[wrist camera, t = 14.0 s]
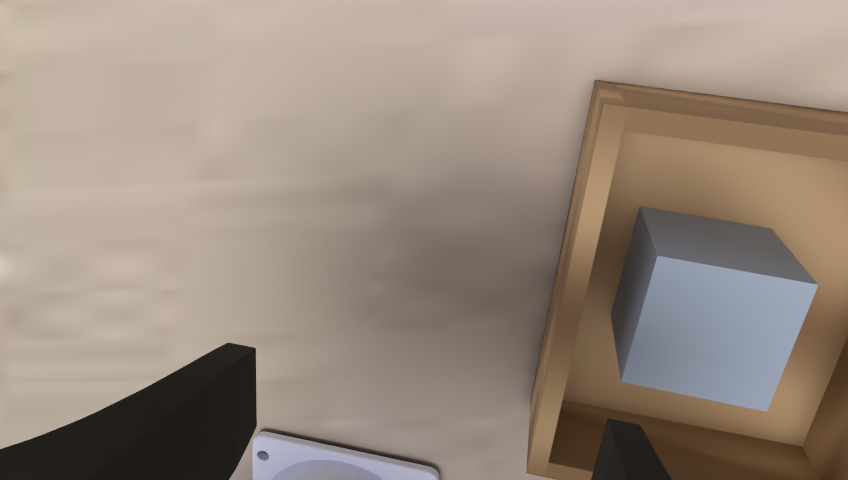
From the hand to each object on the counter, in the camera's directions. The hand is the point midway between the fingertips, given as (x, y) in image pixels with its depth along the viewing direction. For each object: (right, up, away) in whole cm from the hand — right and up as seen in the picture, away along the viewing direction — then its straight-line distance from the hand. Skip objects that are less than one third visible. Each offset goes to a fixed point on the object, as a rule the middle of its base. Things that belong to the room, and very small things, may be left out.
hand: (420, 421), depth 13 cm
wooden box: (+10, +2, +9) cm, 13 cm away
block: (+9, +3, +8) cm, 12 cm away
